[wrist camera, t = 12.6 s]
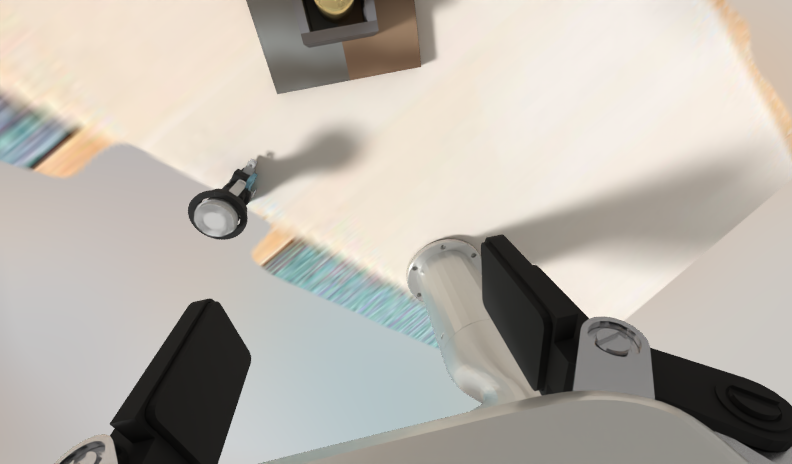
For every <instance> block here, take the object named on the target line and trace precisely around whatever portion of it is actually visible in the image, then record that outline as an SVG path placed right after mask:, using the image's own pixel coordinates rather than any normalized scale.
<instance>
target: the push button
mask: <svg viewBox="0 0 792 464" xmlns="http://www.w3.org/2000/svg"><path fill="white" fill-rule="evenodd" d="M253 162H254V163H253ZM256 164H257V161H255V160H253V159H251V160H250V161H248V164H247V165H246V167H245V168H243V169H242V170H240V169H237V170H236V171H235V172H234V174H233V176H232V178H231V180H230V181H229V183H228V184H226V185H225V186H224V187H223V188H222V189H215V190H211V191H205V192H202V193H200V194H198V195H197V196H195V197H194V198H193V199H192V200H191V202H190V204H189V207H188V214H189V218H190V221H191V222H192V224H193V225H194V227H195V228H196V229H197V230H198V231H200V232H201V233H202V234H204V235H206V236H208V237H211V238H215V239H230V238H234V237H236V236H238V235H239V234H240V233H241V232H242V231H243V230H244V228H245V227H246V224H247V207H246V205H247V204H248V203H249V201H250V199H252V197H253V196H254V194H255V192H256V190H257V189H256V190H255V191H254V192H253V191H250V190H251V187H252V185H253V183H254V181H255V179H256V177H257V174H255V173H254V172H255V166H256ZM205 198H209V199H208V200H206V201H203V202H202V200H203V199H205ZM239 219H240V224H239V225H237V224H238V221H239Z"/></svg>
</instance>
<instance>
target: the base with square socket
mask: <svg viewBox="0 0 792 464" xmlns="http://www.w3.org/2000/svg"><path fill="white" fill-rule="evenodd" d="M246 1H247V4H248V7H249V10H250V13H251V16H252V19H253V22H254V25H255V28H256V31H257V34H258V37H259V40H260V43H261V46H262V49H263V52H264V55H265V58H266V61H267V64H268V67H269V70H270V73H271V77H272V80H273V83H274V86H275V89H276V92H277V94H281V93H286V92H291V91H296V90H302V89H307V88H312V87H317V86H323V85H328V84H333V83H338V82H344V81H349V80H354V79H359V78H365V77H370V76H375V75H380V74H385V73H391V72H396V71H401V70H406V69H412V68H417V67H421V61H420V51H419V42H418V33H417V23H416V14H415V4H414V0H354V5H353V10H352V13H351V15H350V17H349V18H348V19H347V20H346V21H345V22H343V23H339V24H335V23H331V22H329V21H327V20H326V19H325V18H324V17H323V16H322V15H321V14H320V12H319V10H318V8H317V6H316V3H315V1H314V0H246Z"/></svg>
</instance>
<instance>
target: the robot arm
mask: <svg viewBox="0 0 792 464" xmlns="http://www.w3.org/2000/svg"><path fill="white" fill-rule="evenodd" d="M407 283H408V287H409V289H410V291H411V293H412V294H413V295H414V296H415V297H416V298H417V299H418V300H420V301H422V302H424V304H425V307H426V310H427V313H428V316H429V319H430V322H431V324H432V327H433V330H434V333H435V336H436V339H437V342H438V345H439V348H440V351H441V354H442V357H443V360H444V363H445V366H446V369H447V372H448V374H449V376H450V377H451V379H452V380H453V382H454V383H455V384H456V385H457V386H458V387H459V388H460V389H461V390H462V391H463V392H464V393H466V394H467V395H469V396H470V397H472V398H474V399H475V400H477V401H479V402H481V403H482V404H481V405H480V406H479V407H477V408H475V409H473V410H471V411H470V412H466V413H462V414H458V415H454V416H450V417H445V418H441V419H437V420H433V421H429V422H425V423H421V424H417V425H413V426H408V427H404V428H400V429H396V430H392V431H388V432H384V433H380V434H376V435H372V436H368V437H364V438H359V439H356V440H351V441H347V442H343V443H339V444H335V445H331V446H327V447H323V448H319V449H315V450H311V451H307V452H303V453H299V454H295V455H291V456H287V457H283V458H280V459H275V460H271V461H268V462H263V463H260V464H792V406H791V405H790V404H789V403H788V402H787V401H786V400H784V399H783V398H782V397H780V396H779V395H778V394H776V393H775V392H773V391H772V390H770V389H768V388H766V387H765V386H763V385H761V384H759V383H756V382H754V381H751V380H749V379H746V378H743V377H740V376H737V375H734V374H731V373H727V372H725V371H721V370H718V369H715V368H712V367H709V366H705V365H703V364H699V363H696V362H693V361H690V360H687V359H684V358H681V357H678V356H674V355H671V354H668V353H665V352H662V351H658V350H655V349H652V348H650V346H649V343H648V340H647V339H646V338H645V337H644V335H643V334H642V333H641V332H640V331H639V330H637V329H636V328H635V327H633V326H632V325H630V324H628V323H626V322H624V321H621V320H618V319H615V318H610V317H594V318H591V319H589V318H588V317H587V316H586V315H585V314H584V313H583V312H582V311H581V310H580V309H579V308H578V307H577V306H576V305H575V304H574V303H573V302H572V301H571V299H570V298H569V297H568V296H567V295H566V294H565V293H564V292H563V291H562V290H561V289H560V288H559V287H558V286H557V285H556V284H555V283H554V282H553V281H552V280H551V279H550V278H549V277H548V276H547V275H546V274H545V273H544V272H543V271H542V270H541V269H540V268H539V267H538V266H536V265H532V264H531V263H530V262H529V261H528V260H527V259H526V258H525V257H524V256H523V255H522V254H521V253H520V252H519V251H518V250H517V249H516V248H515V246H514V245H513V244H512V243H511V242H510V241H509V240H508V239H507V238H506V237H505V236H504V235H497V236H493V237H488V238H486V240H485V242H484V243H482V244H481V256H480V255H479V253H478V252H477V250H476V249H475V248H474V247H473V246H472V245H470V244H469V243H467V242H464V241H462V240H457V239H445V240H439V241H436V242H433V243H431V244H429V245H427V246H425V247H424V248H423V249H421V250H420V251H419V252H418V253H417V254H416V255H415V256H414V257H413V259H412V260H411V262H410V264H409V266H408V269H407ZM250 363H251V355H250V352H249V350H248V349H247V347H246V345H245V344H244V342H243V340H242V339H241V337H240V336H239V334H238V332H237V330H236V329H235V327H234V326H233V324H232V322H231V321H230V319H229V317H228V316H227V314H226V312H225V311H224V309H223V307H222V306H221V304H220V303H219V302H215V301H214V300H212V299H206V300H201V301H197V302H193V303H191V304H190V305H189V306H188V307H187V309H186V310H185V312H184V313H183V315H182V316H181V318H180V319H179V321H178V323H177V324H176V326H175V327H174V328H173V330H172V332H171V333H170V335H169V336H168V337H167V339H166V341H165V342H164V344H163V345H162V346H161V348H160V350H159V351H158V352H157V354H156V355H155V357H154V358H153V360H152V362H151V363H150V364H149V366H148V367H147V369H146V370H145V372H144V373H143V375H142V376H141V378H140V379H139V381H138V382H137V384H136V385H135V387H134V388H133V390H132V391H131V393H130V395H129V396H128V397H127V399H126V400H125V402H124V403H123V405H122V406H121V408H120V409H119V411H118V412H117V414H116V415H115V417H114V418H113V420H112V421H111V423H110V425H111V426H113V427H114V428H115V429H114V430H113V432H112V434H111V435H110V436H109V435H105V434H102V435H96V436H93V437H91V438H88V439H87V440H84V441H82V442H81V443H79V444H78V445H76V446H74V447H73V448H71V449H70V450H69V451H68V452H66V453H65V454H64V455H62V456H61V457H60V458H59V459H58V460H57V461H56V462H55V463H54V464H218V461H219V458H220V455H221V452H222V449H223V446H224V443H225V440H226V436H227V434H228V431H229V428H230V424H231V421H232V418H233V415H234V412H235V409H236V406H237V403H238V400H239V397H240V394H241V391H242V388H243V385H244V382H245V378H246V375H247V372H248V369H249V366H250Z"/></svg>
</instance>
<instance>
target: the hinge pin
mask: <svg viewBox="0 0 792 464" xmlns="http://www.w3.org/2000/svg"><path fill="white" fill-rule="evenodd" d="M314 1H315V3H316V6H317V8H318V10H319V12H320V14H321V15H322V16H323V17H324V18H325V19H326V20H327V21H329V22H331V23H335V24H339V23H343V22H345V21H346V20H347V19H348V18H349V17H350V15H351V13H352V10H353V5H354V0H314Z"/></svg>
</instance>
